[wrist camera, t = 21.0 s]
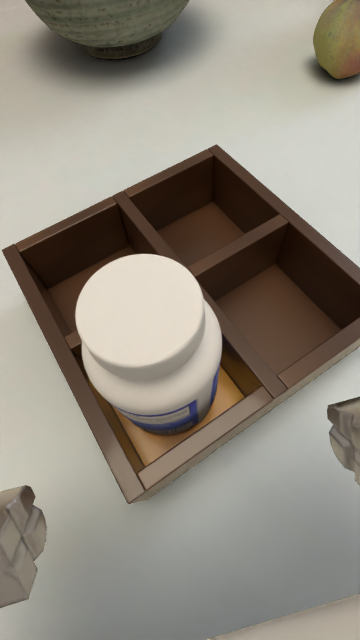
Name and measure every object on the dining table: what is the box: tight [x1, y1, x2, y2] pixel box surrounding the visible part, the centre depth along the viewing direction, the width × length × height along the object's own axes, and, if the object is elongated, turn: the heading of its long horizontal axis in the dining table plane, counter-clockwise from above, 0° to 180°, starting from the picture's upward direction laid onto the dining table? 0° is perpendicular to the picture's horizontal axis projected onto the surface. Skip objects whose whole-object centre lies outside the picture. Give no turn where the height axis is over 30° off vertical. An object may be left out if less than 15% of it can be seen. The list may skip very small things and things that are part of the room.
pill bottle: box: [75, 254, 222, 436], centre depth 14 cm, size 5×5×10 cm
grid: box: [2, 145, 360, 504], centre depth 20 cm, size 15×15×5 cm
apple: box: [313, 0, 360, 79], centre depth 30 cm, size 6×8×6 cm
